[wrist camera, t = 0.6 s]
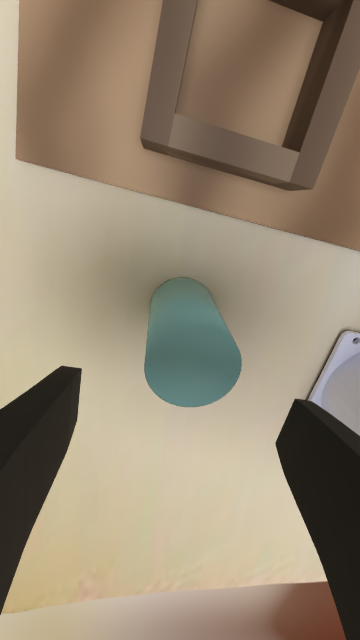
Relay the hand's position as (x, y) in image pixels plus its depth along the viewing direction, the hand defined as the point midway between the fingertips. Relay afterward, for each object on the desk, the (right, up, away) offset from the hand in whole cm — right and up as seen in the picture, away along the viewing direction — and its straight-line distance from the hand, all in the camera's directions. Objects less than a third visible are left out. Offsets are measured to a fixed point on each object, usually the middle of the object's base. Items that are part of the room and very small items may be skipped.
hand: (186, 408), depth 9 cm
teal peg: (0, +4, +9) cm, 9 cm away
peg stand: (+3, +14, +4) cm, 15 cm away
